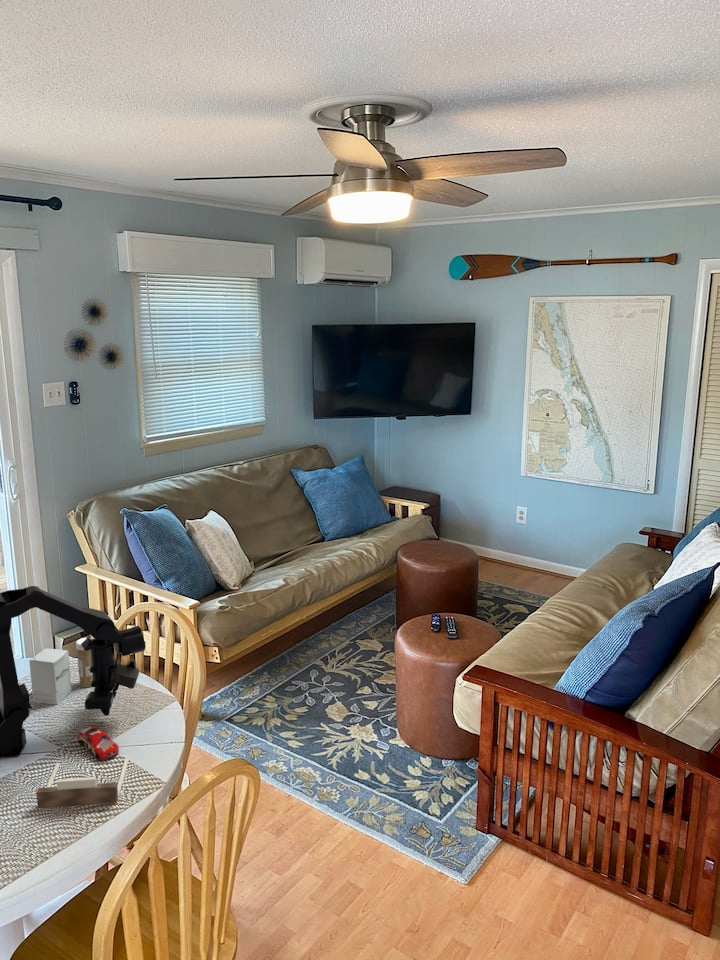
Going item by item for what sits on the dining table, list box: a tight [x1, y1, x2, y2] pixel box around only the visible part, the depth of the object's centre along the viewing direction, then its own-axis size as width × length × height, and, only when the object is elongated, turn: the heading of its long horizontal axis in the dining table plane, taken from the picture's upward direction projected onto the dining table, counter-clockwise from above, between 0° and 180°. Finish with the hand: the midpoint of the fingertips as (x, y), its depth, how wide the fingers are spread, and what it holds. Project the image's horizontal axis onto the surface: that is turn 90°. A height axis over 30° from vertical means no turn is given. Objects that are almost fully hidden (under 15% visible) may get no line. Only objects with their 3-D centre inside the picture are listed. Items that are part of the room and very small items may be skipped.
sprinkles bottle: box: [75, 637, 93, 688], centre depth 205 cm, size 5×5×14 cm
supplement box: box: [29, 647, 72, 706], centre depth 198 cm, size 7×7×13 cm
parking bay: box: [36, 757, 130, 809], centre depth 164 cm, size 16×16×6 cm
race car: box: [77, 725, 120, 762], centre depth 177 cm, size 13×5×4 cm, turn 47°
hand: (107, 714), depth 189 cm, fingers closed
